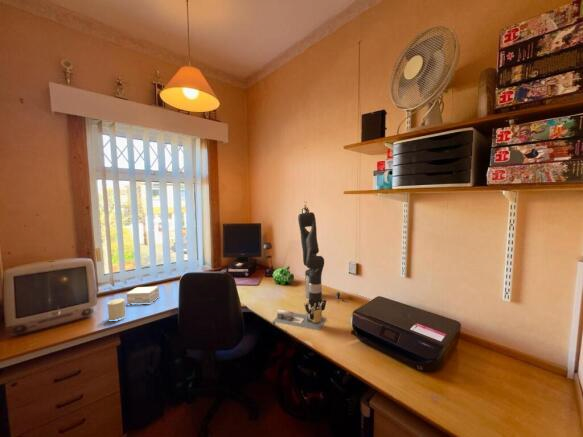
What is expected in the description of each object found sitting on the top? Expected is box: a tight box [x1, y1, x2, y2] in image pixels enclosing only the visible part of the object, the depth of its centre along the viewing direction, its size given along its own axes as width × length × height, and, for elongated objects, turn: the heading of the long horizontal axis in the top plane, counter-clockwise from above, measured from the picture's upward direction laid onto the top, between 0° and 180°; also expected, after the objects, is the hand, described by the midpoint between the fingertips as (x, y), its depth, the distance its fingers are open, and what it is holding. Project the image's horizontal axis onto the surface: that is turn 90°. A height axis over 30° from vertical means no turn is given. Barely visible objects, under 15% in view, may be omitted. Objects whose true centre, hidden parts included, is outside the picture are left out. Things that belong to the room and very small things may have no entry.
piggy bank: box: [272, 265, 295, 286], centre depth 216 cm, size 14×18×15 cm
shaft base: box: [272, 309, 328, 332], centre depth 148 cm, size 16×30×6 cm, turn 68°
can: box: [107, 298, 127, 321], centre depth 156 cm, size 9×9×12 cm
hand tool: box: [350, 328, 357, 337], centre depth 138 cm, size 19×4×5 cm, turn 146°
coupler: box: [312, 307, 322, 323], centre depth 140 cm, size 4×4×8 cm
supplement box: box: [126, 285, 160, 304], centre depth 183 cm, size 17×13×9 cm
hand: (315, 318), depth 140 cm, fingers closed on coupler, 4 cm apart
